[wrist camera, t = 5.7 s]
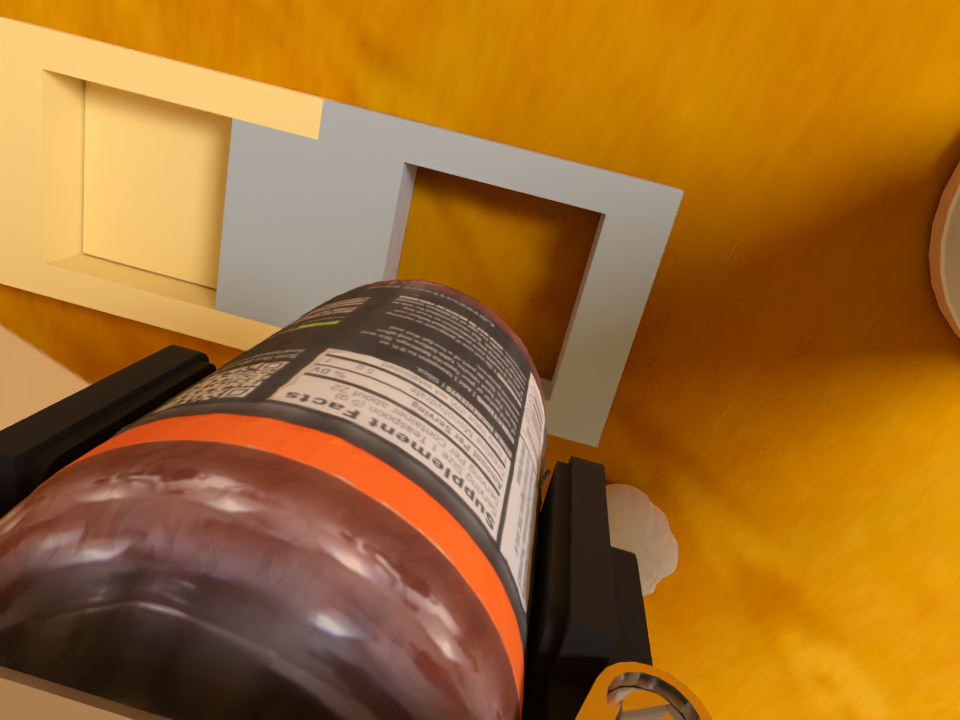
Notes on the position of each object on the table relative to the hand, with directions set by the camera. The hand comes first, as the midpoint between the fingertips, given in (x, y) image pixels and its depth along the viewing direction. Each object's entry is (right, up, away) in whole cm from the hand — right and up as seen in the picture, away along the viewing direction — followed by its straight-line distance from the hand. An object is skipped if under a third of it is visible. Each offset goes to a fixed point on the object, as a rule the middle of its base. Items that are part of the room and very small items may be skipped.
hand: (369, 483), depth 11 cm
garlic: (+8, -5, +20) cm, 23 cm away
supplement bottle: (+1, +1, +4) cm, 4 cm away
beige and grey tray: (-5, +8, +18) cm, 20 cm away
